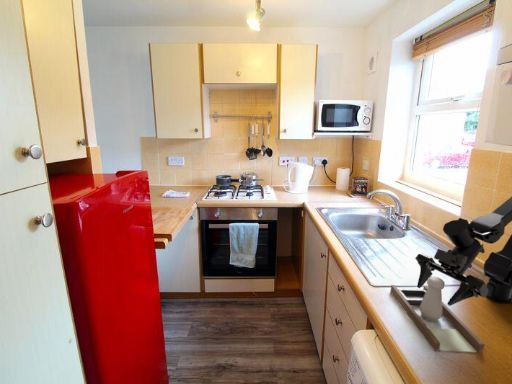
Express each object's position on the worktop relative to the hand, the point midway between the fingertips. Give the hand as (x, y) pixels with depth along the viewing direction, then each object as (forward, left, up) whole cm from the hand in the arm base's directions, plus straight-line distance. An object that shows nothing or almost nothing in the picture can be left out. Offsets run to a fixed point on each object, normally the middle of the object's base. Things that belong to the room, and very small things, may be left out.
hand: (432, 295), depth 82 cm
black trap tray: (0, -9, -7) cm, 11 cm away
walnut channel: (0, 0, -7) cm, 8 cm away
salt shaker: (0, 0, -8) cm, 8 cm away
